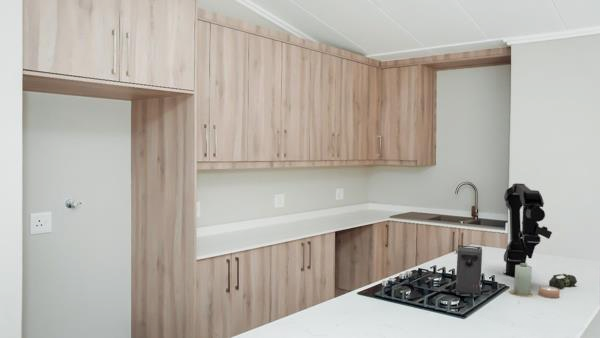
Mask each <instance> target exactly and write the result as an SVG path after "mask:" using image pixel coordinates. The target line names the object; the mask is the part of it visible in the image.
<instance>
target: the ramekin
mask: <svg viewBox="0 0 600 338" xmlns="http://www.w3.org/2000/svg"><path fill="white" fill-rule="evenodd" d="M560 291H561V290H560V289H558V288H555V287H551V286H549V285H541V286H540V285H539V286H538V290H537V292H538V296H540V297H543V298H548V299H559V298H560V293H561V292H560Z"/></svg>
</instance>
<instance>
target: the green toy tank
mask: <svg viewBox="0 0 600 338" xmlns="http://www.w3.org/2000/svg"><path fill="white" fill-rule="evenodd" d="M561 276H563V277H562V278H559V277H561ZM557 277H558V278H557ZM577 283H578V280H577V278H576V276H575V275H572V274H566V273H559V274H554V275H552V277H551V279H550V280H548V286H551V287H555V288H558V289H559V290H560V289H563V288H564V287H568V286H570V287H574V286H575V285H576V284H577Z"/></svg>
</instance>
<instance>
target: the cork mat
mask: <svg viewBox="0 0 600 338" xmlns="http://www.w3.org/2000/svg"><path fill="white" fill-rule="evenodd" d="M508 293H509V294H511V295H513V296H518V297H525V298H526V297H527V298H528V297H529V298H530V297H533V296H534V294H533V293H532V292H530V295H529V296H522V295H517V294H515V293H514V289H510V290H509V291H508Z"/></svg>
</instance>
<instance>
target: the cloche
mask: <svg viewBox="0 0 600 338" xmlns="http://www.w3.org/2000/svg"><path fill="white" fill-rule="evenodd" d="M532 270H533V269H532V266H531V265H528V263H527V262H525V263H521V264H520V265H515V277H514V283H513V284H514V285H513V290H514V293H515V294H517V295H522V296H521V297H523V296H529V295H530V293H531V289H532V288H531V287H532V272H533V271H532ZM517 295H516V296H517Z"/></svg>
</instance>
